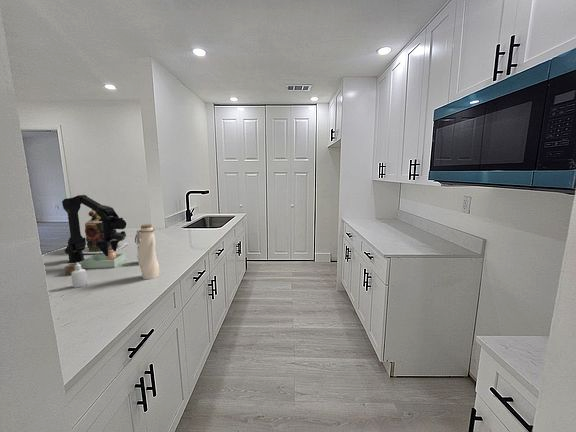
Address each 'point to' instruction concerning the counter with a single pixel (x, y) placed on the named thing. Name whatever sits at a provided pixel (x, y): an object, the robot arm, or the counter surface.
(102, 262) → the box
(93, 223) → the cookie jar
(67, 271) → the walnut cube
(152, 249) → the water bottle
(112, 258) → the egg
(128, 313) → the counter surface
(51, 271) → the counter surface
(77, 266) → the eye dropper bottle
